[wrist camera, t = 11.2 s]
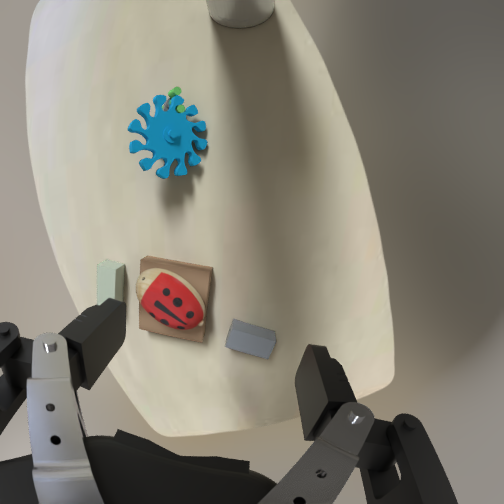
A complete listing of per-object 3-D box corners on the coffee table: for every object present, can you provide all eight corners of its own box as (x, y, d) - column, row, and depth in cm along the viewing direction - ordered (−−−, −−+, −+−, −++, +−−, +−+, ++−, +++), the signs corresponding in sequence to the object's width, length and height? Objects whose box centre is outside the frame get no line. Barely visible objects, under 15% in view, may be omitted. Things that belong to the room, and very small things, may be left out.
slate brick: (227, 335, 37) (225, 346, 34) (233, 318, 36) (231, 328, 33) (267, 347, 37) (267, 359, 34) (274, 330, 37) (276, 341, 34)
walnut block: (148, 254, 35) (140, 259, 32) (213, 265, 35) (209, 272, 32) (146, 319, 37) (139, 328, 34) (205, 331, 37) (201, 342, 34)
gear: (203, 184, 31) (122, 169, 23) (178, 186, 35) (108, 175, 27) (218, 100, 30) (147, 73, 22) (192, 112, 34) (128, 91, 26)
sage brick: (107, 259, 35) (97, 264, 32) (125, 263, 35) (115, 269, 32) (106, 297, 36) (97, 304, 33) (123, 302, 36) (114, 310, 33)
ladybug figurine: (151, 254, 32) (139, 262, 28) (219, 297, 33) (214, 310, 29) (131, 295, 33) (120, 306, 30) (194, 335, 34) (188, 350, 31)
